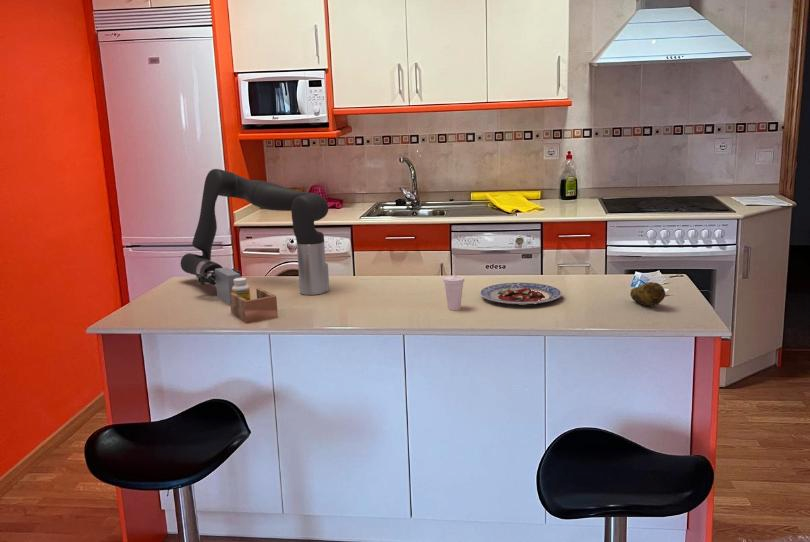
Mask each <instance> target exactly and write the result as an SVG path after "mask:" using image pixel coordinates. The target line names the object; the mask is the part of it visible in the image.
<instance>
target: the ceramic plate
mask: <svg viewBox="0 0 810 542" xmlns="http://www.w3.org/2000/svg"><path fill="white" fill-rule="evenodd" d="M531 290H532V291H531ZM533 290H534V291H533ZM535 291H537V292H535ZM538 291H541V292H544V293H547V294H548V295H549V298H548V299H545V300H541V299H542V298H545V296H544V295H543V294H542V293H540V292H538ZM479 292H480V293H479V294H480V296H481V297H483V298H484V299H486V300H489V301H492V302H495V303H496V302H497V303H500V302H501V303H500V304H504V303H507V304H506V305H509V304H534V303H539V304H543V303H547V302H552V301H555V300H557V299H559V298H561V297H562V295H563V292H562V291H561V289H560V288H557V287H555V286H554V285H548V284H542V283H538V282H537V283H536V282H505V283H504V282H503V283H497V284H492V285H489V286H486V287H484V288H483V289H481V290H480V291H479ZM538 300H540V301H538ZM534 305H535V304H534Z"/></svg>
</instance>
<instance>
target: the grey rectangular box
mask: <svg viewBox="0 0 810 542" xmlns="http://www.w3.org/2000/svg"><path fill="white" fill-rule="evenodd" d="M240 274H241V273H240ZM240 274H239V273H237V272H235V271H233V270H232V268H231V269H230V268H229V267H227V266H226V267H223V268H218V269H215V278H216V284H215V287H216V298H217V299H219V300H220V301H222V302H223V303H225V304H226V305H228V306H230V307H231V305H230V293H232V287H233V286H234V285H235V284H234V279H236V278H240Z"/></svg>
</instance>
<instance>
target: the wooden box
mask: <svg viewBox="0 0 810 542" xmlns="http://www.w3.org/2000/svg"><path fill="white" fill-rule="evenodd" d="M255 289H256V290H255V292H256V298H254V299H250V300H246V299H244V298H242V297H240V296H239V295H237V294H235V293H230V305H231V306H230V305H229V306H230V314H232V315H233V316H235V317H236V318H237V319H239V320H241V321H242V322H244V323H245V324H249V323H254V322H261V321H266V320H270V319H275V318H279V316H278V315H279V313H278V304H277V303H278V302H277V299H278V298H277V296H276V295H275V294H273V293H272V292H271V293H270V292H268V291H267V290H264V289H263V288H261V287H259V288H255Z"/></svg>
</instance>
